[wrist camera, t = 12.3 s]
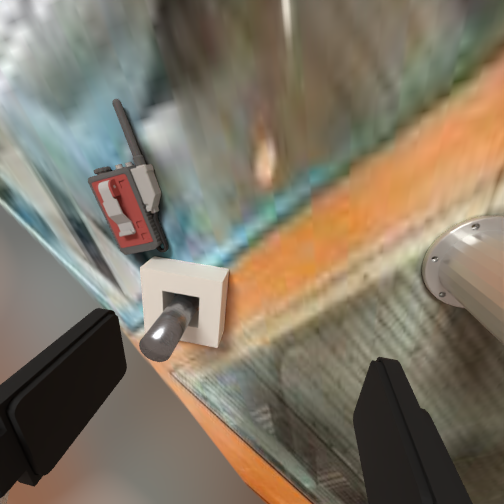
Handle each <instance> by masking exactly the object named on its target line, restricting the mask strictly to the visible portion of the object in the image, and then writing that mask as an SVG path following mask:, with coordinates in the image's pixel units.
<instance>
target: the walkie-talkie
mask: <svg viewBox="0 0 504 504" xmlns="http://www.w3.org/2000/svg"><path fill="white" fill-rule="evenodd" d="M113 106H114V109H115V111H116V114H117V116H118V119H119V122H120V124H121V127H122V129H123V132H124V134H125V137H126V139H127V142H128V145H129V147H130V150H131V152H132V155H133V160H134V163H135V165H136V166H134V165H132V162H128V163H125V165H126V167H125V168H124V167H123V166H122V164H118V165H115V167H116V169H115V170H114V171H111V168H110V167H103V168H98V169H95V170H94V173H95V174H98V175H96V176H93V177H90V178H88V183H89V185H90V187H91V189H92V191H93V193H94V195H95V198H96V200H97V202H98V204H99V206H100V208H101V210H102V213H103V214H104V216H105V218H106V220H107V223H108V225H109V227H110V229H111V231H112V234H113V235H114V238H115V240H116V242H117V245H118V246H119V248H120V251H121V252H122V253H124V254H125V255H128V254H133V253H138V252H143V251H148V250H153V249H156V248H157V250H158V251H160V252H166V251H167V250H168V244H167V241H166V237H165V236H164V235H165V234H164V233H163V230H162V227H161V226H160V225H161V224H160V223H159V220H158V212H157V211H159V208H158V205H159V201H160V197H161V190H160V188H159V185H158V182H157V180H156V177H155V174H154V169H153V166H152V164H150V165H146V163H145V160H144V157H143V156H142V155H141V153H140V150H139V147H138V145H137V142H136V139H135V137H134V134H133V131H132V129H131V126H130V124H129V122H128V120H127V117H126V114H125V112H124V109H123V107H122V104H121V102H120V100H118V99H114V100H113ZM162 243H163V245H164V249H162V248H161V246H160V245H161V244H162Z"/></svg>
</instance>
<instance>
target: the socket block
mask: <svg viewBox="0 0 504 504" xmlns="http://www.w3.org/2000/svg"><path fill="white" fill-rule="evenodd" d="M140 274H141V287H142V300H143V313H144V326H145V334H146V333H147V332H148V330H149V329H150V328H151V326H152V325H153V324H154V323H155V321H156V320H157V319H158V317H159V316H160V315H161V313H162V312H163V311H164V310H165V308H166V307H167V306H168V304H169V303H170V302H171V300H172V299H173V298H174V293H178V294H184V295H189V296H194V297H199V311H196V312H195V314H194V316H193V318H192V319H191V321H190V323H189V325H188V326H187V328H186V330H185V332H184V333H183V335H182V337H181V339H180V341H185V342H190V343H195V344H200V345H205V346H210V347H215V348H218V346H219V343H220V340H221V338H222V335H223V332H224V325H225V313H226V301H227V289H228V277H229V269H227V268H221V267H215V266H209V265H203V264H197V263H191V262H186V261H180V260H174V259H168V258H162V257H156V256H154V257H152V258H151V259H150V260H149V261H147V262H146V263H145V264H144V265H143V266H141V267H140Z"/></svg>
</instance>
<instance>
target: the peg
mask: <svg viewBox="0 0 504 504" xmlns="http://www.w3.org/2000/svg"><path fill="white" fill-rule="evenodd" d="M198 307H199V297H194V296H189V295H184V294H178V293H177V294H176V295H175V297H174V298H173V299H172V300H171V302H170V303H169V304H168V306H167V307H166V308H165V310H164V311H163V312H162V313H161V315H160V316H159V317H158V319H157V320H156V321H155V323H154V324H153V325H152V326H151V328H150V329H149V330H148V332H147V333H146V334H145V335H144V337H143V338H142V339H141V341H140V344H139V346H140V350H141V352H142V353H143V354H144V355H145V356H146V357H147V358H149V359H150V360H153V361H157V362H163V361H166V360H168V359H169V358H170V356H171V354H172V352H173V351H174V349H175V347H176V345H177V344H178V342H179V340H180V339H181V337H182V335H183V333H184V332H185V330H186V328H187V326H188V325H189V323H190V321H191V319H192V318H193V316H194V314H195V312H196V311H197V309H198Z"/></svg>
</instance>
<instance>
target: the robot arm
mask: <svg viewBox="0 0 504 504" xmlns="http://www.w3.org/2000/svg"><path fill="white" fill-rule="evenodd" d="M422 276H423V280H424V283H425V284H426V286H427V288H428V289H429V290H430V292H431V293H432V294H433V295H434V296H435V297H436V298H437V299H439V300H441V301H442V302H444V303H446V304H449V305H452V306H455V307H461V308H466V309H467V310H468V311H469V312H470V313H471V314H472V315H473V316H474V317H475V318H476V319H477V320H478V321H479V322H480V323H481V324H482V325H483V326H484V327H485V328H486V329H487V330H488V331H489V332H491V333H492V334H493V335H494V336H495V337H496V338H497V339H498V340H499V341H500V342H501V343H502V344H503V345H504V216H497V215H491V216H480V217H475V218H471V219H468V220H465V221H463V222H460V223H458V224H456V225H454V226H452V227H451V228H449V229H448V230H447V231H445V232H444V233H442V234H441V235H440V236H439V237H438V238H437V239H436V240H435V241H434V242H433V244H432V245H431V246H430V248H429V249H428V251H427V253H426V255H425V257H424V261H423V265H422ZM126 368H127V366H126V359H125V354H124V348H123V342H122V337H121V331H120V325H119V319H118V316H117V315H115V312H114V311H112V310H106V309H100V308H98V309H95V310H93V311H92V312H91V313H90V314H88V315H87V316H86V317H85V318H83V319H82V320H81V321H80V322H78V323H77V324H76V325H75V326H73V327H72V328H71V329H70V330H68V331H67V332H66V333H65V334H64V335H62V336H61V337H60V338H59V339H57V340H56V341H55V342H53V343H52V344H51V345H50V346H48V347H47V348H46V349H45V350H43V351H42V352H41V353H40V354H38V355H37V356H36V357H35V358H33V359H32V360H31V361H30V362H29V363H27V364H26V365H25V366H24V367H22V368H21V369H20V370H19V371H17V372H16V373H15V374H13V375H12V376H11V377H10V378H9V379H7V380H6V381H5V382H3V383H2V384H1V385H0V504H6V503H7V498H8V494H9V490H10V489H11V487H12V486H13V485H14V484H15V482H16V481H17V480H18V481H19V482H20V483H24V484H27V485H31V486H35V485H36V484H37V483H38V482H39V480H40V479H41V478H42V476H43V475H46V474H48V473H49V472H50V471H51V470H52V469H53V468H54V467H55V465H56V464H57V462H58V461H59V460H60V459H61V457H62V456H63V455H64V454H65V452H66V451H67V449H68V448H69V447H70V446H71V444H72V443H73V442H74V440H75V439H76V438H77V436H78V435H79V434H80V432H81V431H82V430H83V429H84V427H85V426H86V425H87V423H88V422H89V421H90V419H91V418H92V417H93V416H94V414H95V413H96V412H97V410H98V409H99V407H100V406H101V405H102V404H103V402H104V401H105V400H106V398H107V397H108V395H110V393H111V392H112V391H113V389H114V388H115V387H116V385H117V384H118V383H119V381H120V380H121V379H122V377H123V376H124V374H125V372H126ZM353 423H354V429H355V434H356V440H357V445H358V450H359V455H360V461H361V466H362V471H363V476H364V482H365V487H366V492H367V497H368V502H369V504H472V502H471V499H470V497H469V495H468V493H467V491H466V489H465V487H464V485H463V483H462V481H461V479H460V477H459V474H458V472H457V470H456V468H455V466H454V464H453V462H452V460H451V458H450V456H449V454H448V452H447V450H446V447H445V445H444V443H443V441H442V439H441V437H440V435H439V433H438V431H437V429H436V427H435V425H434V422H433V420H432V418H431V417H430V415H429V413H428V412H427V411H426V410H425V409H422V408H420V406H419V404H418V401H417V399H416V397H415V395H414V393H413V390H412V388H411V386H410V384H409V382H408V380H407V377H406V375H405V373H404V371H403V369H402V366H401V364H400V363H399V361H398V360H394V359H388V358H382V357H378V358H377V360H376V361H371V363H370V366H369V369H368V372H367V375H366V378H365V381H364V384H363V387H362V390H361V393H360V396H359V399H358V402H357V405H356V408H355V411H354V415H353Z"/></svg>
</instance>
